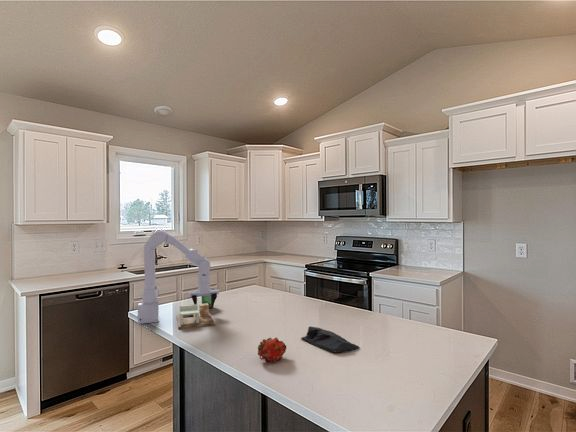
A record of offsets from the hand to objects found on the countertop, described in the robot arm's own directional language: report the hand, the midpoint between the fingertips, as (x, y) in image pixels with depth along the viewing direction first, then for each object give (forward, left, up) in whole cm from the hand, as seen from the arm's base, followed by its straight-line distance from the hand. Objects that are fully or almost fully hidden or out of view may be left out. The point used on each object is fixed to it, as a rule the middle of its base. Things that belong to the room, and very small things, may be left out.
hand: (204, 309), depth 166 cm
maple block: (0, 0, -2) cm, 2 cm away
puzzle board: (-5, -5, -4) cm, 8 cm away
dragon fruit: (+16, -60, -4) cm, 62 cm away
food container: (+5, +15, -4) cm, 16 cm away
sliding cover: (-8, -10, -2) cm, 13 cm away
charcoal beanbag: (+42, -54, -4) cm, 68 cm away
